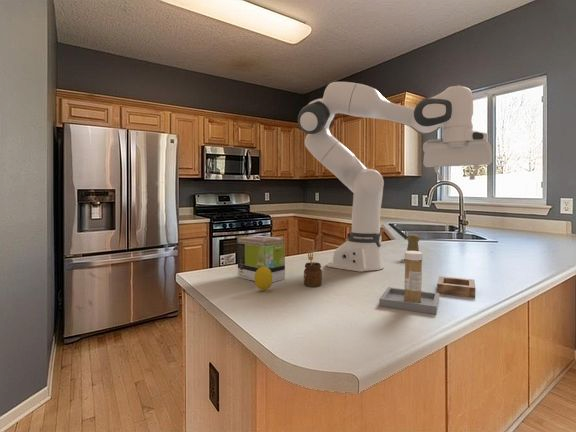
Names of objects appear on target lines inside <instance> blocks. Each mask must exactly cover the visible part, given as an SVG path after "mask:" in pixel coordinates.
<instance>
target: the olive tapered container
mask: <svg viewBox="0 0 576 432" xmlns="http://www.w3.org/2000/svg"><path fill="white" fill-rule="evenodd" d="M406 241H407V248H406V251H419V252H420V250H419V248H420V247H419V242H420V236H419V235H418V234H415V233H412V234H408V235H407V237H406Z"/></svg>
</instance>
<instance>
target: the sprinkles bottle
mask: <svg viewBox="0 0 576 432" xmlns="http://www.w3.org/2000/svg"><path fill="white" fill-rule="evenodd" d="M423 259H424V255H423V252H422V251H420V250H419V251H407V250H406V251H405V252H404V260H405V262H404V263H405V264H404V288H403V289H405V296H404V300H405V301H409V302H416V303H418V302H421V291H422V287H423V286H422V282H423V281H422V279H423V278H422V277H423V268H422V267H423V266H422V265H423Z"/></svg>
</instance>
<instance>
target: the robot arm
mask: <svg viewBox="0 0 576 432" xmlns="http://www.w3.org/2000/svg"><path fill="white" fill-rule="evenodd" d="M472 92H473V91H472V90H471V89H470V88H468V87H466V86H463V85H451V86H448V87H446V89H445V90H444V91H442V92H440V93H438V94H436V95H434V96H432V97H429V98H426V99H422V100H421V101H420V102H418V103H417V105H416V106H415V107H411V106H407V105H401V104H398V103H393V102H392V101H389V100H388V99H386V98H385V97H384V96H383V95H382V94H381V93H380V92H379V90H377V88H374V87H372V86H369V85H366V84H363V83H356V82H350V81H333V82H330V83H329V84H328V85H327V86H326V87H325V89H324V92H323V96H322V97H319V98H317V99H314V100H312V101H310V102H309V103H308V104H306V105H305V106H303V107H302V108H301V110H299V113H298V115H297V124H298V126H299V127H298V128H299V129H300V130H301V131H303V133H305V134H306V136H305V138H304V146H305V147H306V148H305V149H307V151H308V152H309V153H310V154H311V155H312V156H313V157H314V158H315V159H316V160H317V161H318V162H319V163H320V164H322V166H323V167H325V168H326V169H327V170H328V171H329V172H330V173H331V174H333V175H334V176H335V177H336V178H337V179H338V180H339V181H340V182H341V183H342V184H343V185H344V186H345V187H347V188H348V190H350V191H351V193H353V196H352V198H353V199H352V208H351V209H352V211H351V231H349V232H348V233H347V234H346V236H345V237H346V239H347V240H346V241H345V242H344V243H341V245H340V246H337V248H336V249H335V250H334V252H333V256H332V260H329V261H328V262H327V263H326V265H327V267H328V268H334V269H340V270H347V271H354V272H358V273H359V272H368V271H378V270H382V269H384V267H385V266H384V263H383V258H382V257H383V256H382V252H381V251H382V250H381V247H382V233H381V210H382V209H381V208H382V202H383V196H384V195H383V193H384V186H385V185H384V184H385V181H384V177H383V176H382V174H381V173H380V172H379V171H378V170H376V169H373V168H368V167H366V166H365V165H364V164H363V163H362V162H361V160H360V159H359V158H357V156H356V155H355V154H354V153H353V152H352V151H351V150H350V149H349V148H347V147H346V146H345V144H343V143H342V142H340V140H338V139H337V138H336V137H335V136H334V135H333V134H332V133H331V130H330V129H331V128H332V126H333V124H334V121H335V119H336V115H338V114H343V115H348V116H351V117H357V118H366V119H367V118H368V119H375V120H384V121H388V122H393V123H397V124H401V125H404V126H408V127H409V128H411V129H413V130H414V131H415V132H416V133H418V134H420V135H422V136H423V135H424V136H429V135H430V136H431V135H432V134H435V133H436V132H438V131H439V129H440V128H442V138H436V139H427V141H424V142H423V144H422V151H423V166H424V167H425V168H433V169H434V171H435V173H436V175H437V181H443V180H444V178H443V177H444V175H443V174H440V172H439V171H440V167H461V166H462V167H465V166H468V167H469V166H473V169H474V171H473V173H469V180H471V181H472V180H476V173H477V172H478V171H479V169H480V166H489V165H491V164H492V162H493V153H492V145H491V143H490V142H489V141H488V140H489V134H488V133H487V132H483V131H477V130H473V129H474V128H473V126H474V125H473V123H472V121H473V120H472V119H473V115H474V97H473V93H472Z"/></svg>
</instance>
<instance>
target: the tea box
mask: <svg viewBox="0 0 576 432" xmlns="http://www.w3.org/2000/svg"><path fill="white" fill-rule="evenodd" d="M236 240H237V241H236V242H237V246H236V247H237V277H238V278H240V279H245V280H249V281H254V282H255V273H256V271H257V269H259V268H260V267H262V266H265V267H267V268H268V269H270V271H271V273H272V283H275V282H279V281H282V280H285V279H286V254H285V253H286V252H285V249H286V248H285V247H286V245H285V244H286V243H285V238H284V237H277V236H276V237H275V236H267V235H266V236H265V235H250V236H248V235H247V236H241V237H237V238H236Z"/></svg>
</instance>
